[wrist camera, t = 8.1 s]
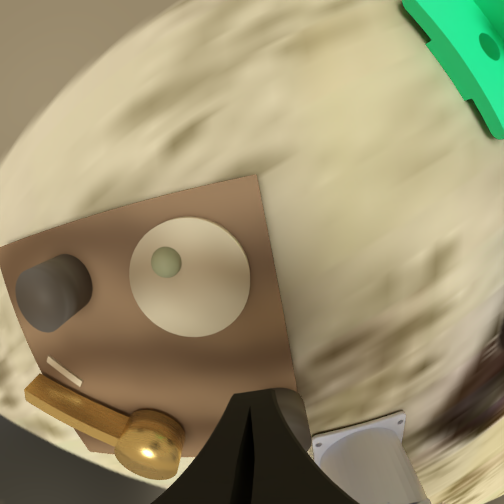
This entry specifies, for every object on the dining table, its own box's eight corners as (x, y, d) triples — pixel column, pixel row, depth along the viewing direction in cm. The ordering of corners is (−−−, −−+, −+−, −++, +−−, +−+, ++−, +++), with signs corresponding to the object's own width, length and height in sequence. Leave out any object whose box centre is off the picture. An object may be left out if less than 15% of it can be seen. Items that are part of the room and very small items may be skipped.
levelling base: (307, 430, 21) (316, 477, 16) (95, 441, 22) (76, 477, 17) (261, 173, 17) (264, 170, 12) (7, 244, 18) (-37, 260, 13)
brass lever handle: (190, 422, 18) (183, 455, 15) (179, 456, 19) (171, 486, 16) (39, 357, 18) (16, 379, 15) (42, 396, 19) (24, 418, 15)
